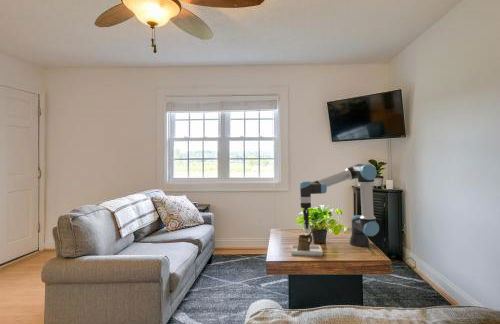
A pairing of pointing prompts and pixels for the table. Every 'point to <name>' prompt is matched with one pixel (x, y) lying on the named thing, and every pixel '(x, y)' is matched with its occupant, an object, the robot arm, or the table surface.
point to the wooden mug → (305, 242)
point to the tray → (314, 251)
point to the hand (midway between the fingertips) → (306, 230)
